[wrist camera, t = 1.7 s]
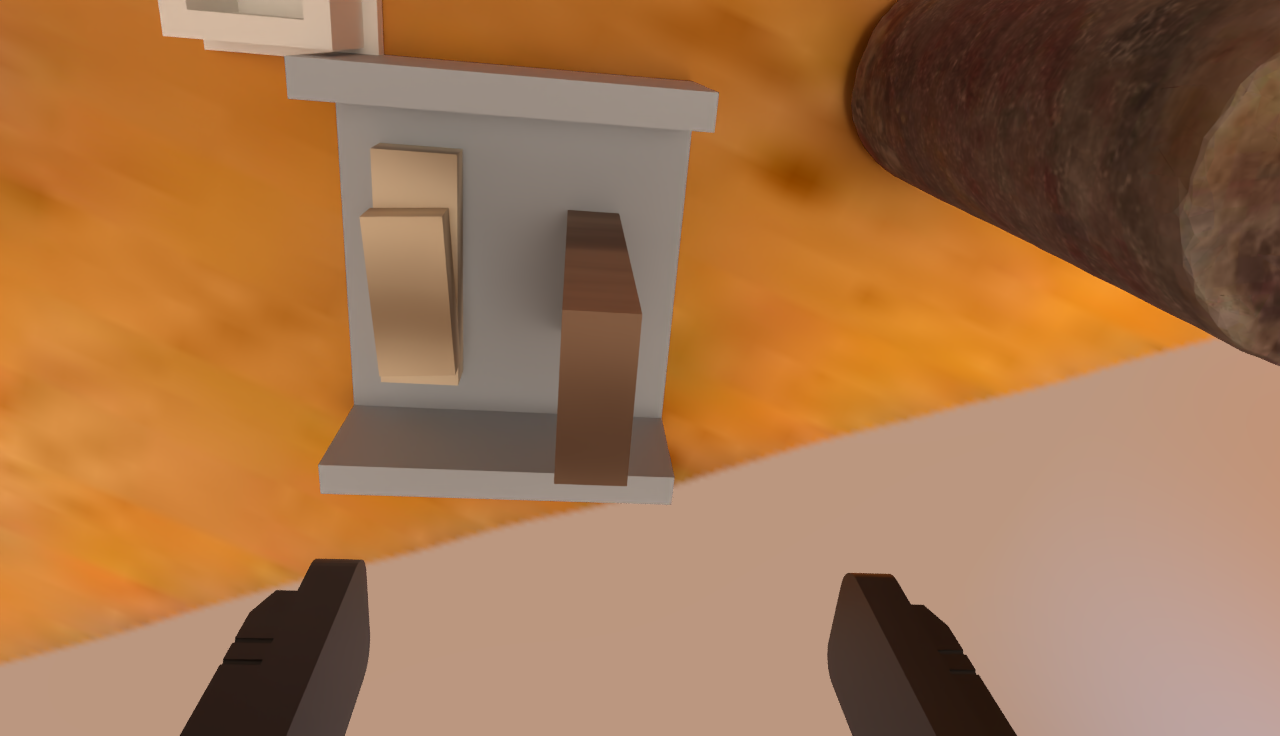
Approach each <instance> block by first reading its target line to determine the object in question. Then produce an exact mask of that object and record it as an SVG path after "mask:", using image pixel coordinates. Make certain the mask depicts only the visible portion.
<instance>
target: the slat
mask: <svg viewBox="0 0 1280 736" xmlns="http://www.w3.org/2000/svg"><path fill="white" fill-rule="evenodd" d="M641 324H642V310H641V306H640V302H639V297H638V293H637V289H636V284H635V280H634V276H633V271H632V267H631V263H630V258H629V254H628V250H627V245H626V241H625V237H624V232H623V228H622V224H621V219H620V215H619V213H606V212H591V211H577V210H568V213H567V232H566V250H565V269H564V287H563V305H562V326H561V346H560V367H559V387H558V408H557V429H556V449H555V470H554V484H570V485H600V486H627V480H628V469H629V458H630V447H631V436H632V425H633V414H634V402H635V391H636V380H637V369H638V358H639V347H640V336H641Z"/></svg>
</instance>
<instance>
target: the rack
mask: <svg viewBox="0 0 1280 736" xmlns="http://www.w3.org/2000/svg"><path fill="white" fill-rule="evenodd" d="M284 59H285V71H286V83H287V95H288V99H299V100H311V101H324V102H336V116H337V133H338V149H339V166H340V182H341V198H342V215H343V231H344V247H345V264H346V280H347V296H348V313H349V329H350V345H351V362H352V378H353V394H354V406H353V408H352V409H351V411H350V413H349V414H348V416H347V418H346V420H345V421H344V423H343V425H342V426H341V428H340V430H339V431H338V433H337V435H336V436H335V438H334V440H333V441H332V443H331V445H330V446H329V448H328V450H327V451H326V453H325V455H324V456H323V458H322V460H321V461H320V463H319V465H318V467H319V480H320V492H321V494H351V495H382V496H414V497H445V498H476V499H507V500H539V501H570V502H601V503H633V504H664V505H671V503H672V494H673V485H674V473H673V469H672V464H671V460H670V455H669V451H668V446H667V441H666V437H665V432H664V428H663V423H662V408H663V399H664V389H665V380H666V370H667V361H668V351H669V342H670V332H671V323H672V313H673V304H674V294H675V285H676V275H677V266H678V256H679V247H680V237H681V228H682V218H683V209H684V199H685V190H686V180H687V171H688V161H689V152H690V142H691V133H692V131H700V132H712V133H714V132H715V123H716V114H717V106H718V97H719V92H716V91H714V90H712V89H709V88H707V87H705V86H702V85H700V84H698V83H695V82H693V81H683V80H672V79H660V78H649V77H637V76H625V75H614V74H602V73H591V72H579V71H567V70H556V69H544V68H532V67H521V66H509V65H498V64H486V63H474V62H463V61H451V60H439V59H428V58H416V57H405V56H393V55H369V54H358V53H346V52H325V53H312V54H300V55H288V56H284ZM379 143H389V144H403V145H416V146H429V147H443V148H456V149H463V373H462V376H461V379H460V382H459V385H458V386H455V385H433V384H412V383H390V382H381V377H379V370H378V362H377V354H376V346H375V338H374V330H373V322H372V314H371V306H370V298H369V290H368V282H367V274H366V266H365V258H364V250H363V242H362V234H361V226H360V218H359V217H360V216H361V215H362V214H363V213H364V212H366V211H367V210H368V209H369V208H373V200H372V178H371V157H370V148H371V147H373V146H375V145H377V144H379ZM568 210H577V211H591V212H606V213H619V215H620V219H621V224H622V228H623V232H624V237H625V241H626V245H627V250H628V254H629V258H630V263H631V267H632V271H633V276H634V280H635V284H636V289H637V293H638V297H639V302H640V306H641V310H642V324H641V336H640V347H639V358H638V369H637V380H636V391H635V402H634V414H633V425H632V436H631V447H630V458H629V469H628V480H627V486H600V485H570V484H554V470H555V449H556V429H557V408H558V387H559V367H560V346H561V326H562V305H563V287H564V269H565V250H566V232H567V213H568Z"/></svg>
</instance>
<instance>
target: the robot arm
mask: <svg viewBox="0 0 1280 736" xmlns="http://www.w3.org/2000/svg"><path fill="white" fill-rule="evenodd" d="M369 647H370V627H369V611H368V593H367V576H366V566H365V562H364V561H363V560H349V559H315V560H314V561H313V562H312V563H311V565H310V567H309V569H308V571H307V573H306V575H305V577H304V579H303V581H302V583H301V585H300V587H299V589H298V591H284V590H276V591H275V592H274V593H272V594H271V595H270V596H269V597H268V598H266V599H265V600H264V601H263V602H262V603H260V604H259V605H258V606H257V607H256V608H254V609H253V610H252V611H251V612H250V613H249V615H248V616H247V618H246V620H245V622H244V623H243V625H242V627H241V629H240V630H239V632H238V634H237V636H236V637H235V643H232V645H231V646H230V648H229V650H228V652H227V653H226V655H225V657H224V659H223V664H222V665H220V666H219V667H218V669H217V671H216V673H215V675H214V676H213V678H212V680H211V682H210V683H209V685H208V687H207V689H206V690H205V692H204V694H203V696H202V697H201V699H200V701H199V703H198V705H197V706H196V708H195V710H194V711H193V713H192V715H191V717H190V718H189V720H188V722H187V724H186V726H185V727H184V729H183V731H182V733H181V734H180V736H345V733H346V730H347V727H348V724H349V721H350V718H351V715H352V712H353V709H354V706H355V703H356V700H357V697H358V694H359V691H360V688H361V685H362V682H363V679H364V675H365V672H366V668H367V662H368V657H369ZM827 655H828V669H829V674H830V679H831V682H832V685H833V687H834V690H835V692H836V695H837V697H838V700H839V703H840V705H841V708H842V710H843V712H844V715H845V718H846V720H847V723H848V725H849V728H850V730H851V733H852V735H853V736H1017V735H1016V734H1015V732H1014V730H1013V729H1012V727H1011V726H1010V724H1009V722H1008V721H1007V719H1006V718H1005V716H1004V714H1003V713H1002V711H1001V710H1000V708H999V706H998V705H997V703H996V702H995V700H994V699H993V697H992V695H991V694H990V692H989V690H988V689H987V687H986V686H985V684H984V683H983V681H982V680H981V678H980V676H979V675H976V673H975V668H974V667H973V665H972V663H971V662H970V660H969V659H968V657H967V655H964V654H963V649H962V647H961V646H960V644H959V643H958V641H957V640H956V638H955V636H954V635H953V633H952V632H951V630H950V628H949V627H948V626H947V625H946V624H945V623H944V622H943V621H941V620H940V619H939V618H938V617H937V616H936V615H934V614H933V613H932V612H931V611H930V610H929V609H927V608H926V607H925V606H924V605H911V604H910V602H909V601H908V599H907V597H906V596H905V594H904V592H903V590H902V589H901V587H900V585H899V584H898V582H897V580H896V579H895V577H894V576H893V575H891V574H871V573H870V574H869V573H868V574H867V573H847V574H846V575H845V576H844V578H843V581H842V585H841V588H840V592H839V597H838V602H837V606H836V611H835V616H834V620H833V624H832V629H831V634H830V638H829V643H828V654H827Z"/></svg>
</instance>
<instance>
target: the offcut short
mask: <svg viewBox="0 0 1280 736" xmlns="http://www.w3.org/2000/svg"><path fill="white" fill-rule="evenodd" d="M359 218H360V226H361V234H362V242H363V250H364V258H365V266H366V274H367V282H368V290H369V298H370V306H371V314H372V322H373V330H374V338H375V346H376V354H377V362H378V370H379V377H385V376H448V375H456V372H457V369H458V366H459V364H460V361H461V357H460V345H459V332H458V320H457V307H456V295H455V283H454V270H453V258H452V245H451V233H450V220H449V208H369V209H368V210H367V211H366V212H364V213H363V214H362V215H361V216H360V217H359Z"/></svg>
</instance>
